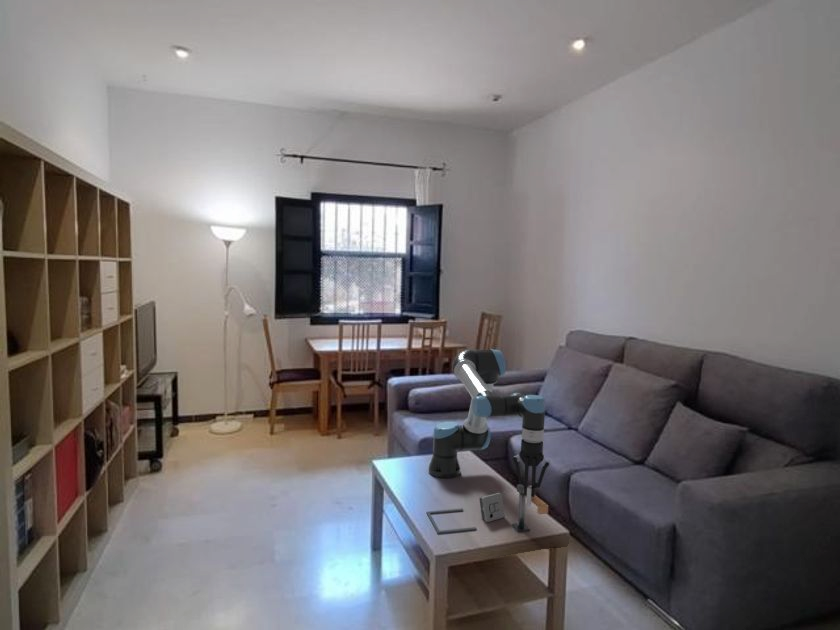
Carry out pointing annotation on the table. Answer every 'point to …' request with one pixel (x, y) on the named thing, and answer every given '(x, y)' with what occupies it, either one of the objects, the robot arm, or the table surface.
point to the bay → (447, 530)
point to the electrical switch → (492, 507)
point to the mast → (521, 515)
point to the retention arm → (535, 501)
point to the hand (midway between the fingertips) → (528, 504)
